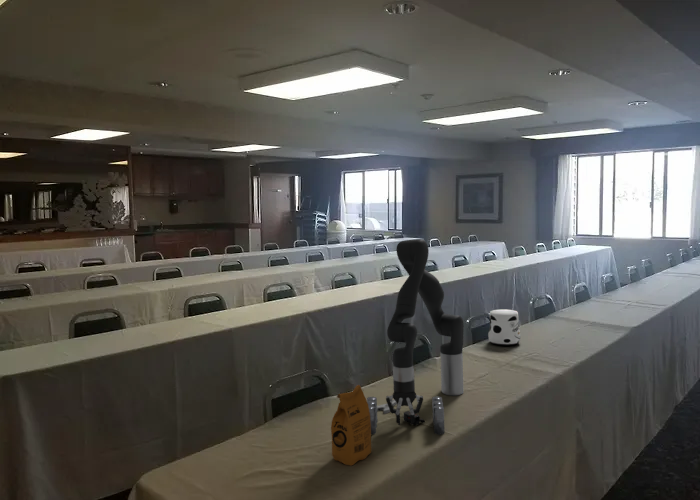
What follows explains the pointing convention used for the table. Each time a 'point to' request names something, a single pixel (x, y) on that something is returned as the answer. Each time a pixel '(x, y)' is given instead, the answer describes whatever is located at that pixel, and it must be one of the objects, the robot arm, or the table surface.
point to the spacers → (437, 414)
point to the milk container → (504, 327)
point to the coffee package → (351, 428)
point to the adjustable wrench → (386, 407)
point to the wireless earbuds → (416, 418)
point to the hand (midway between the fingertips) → (405, 423)
